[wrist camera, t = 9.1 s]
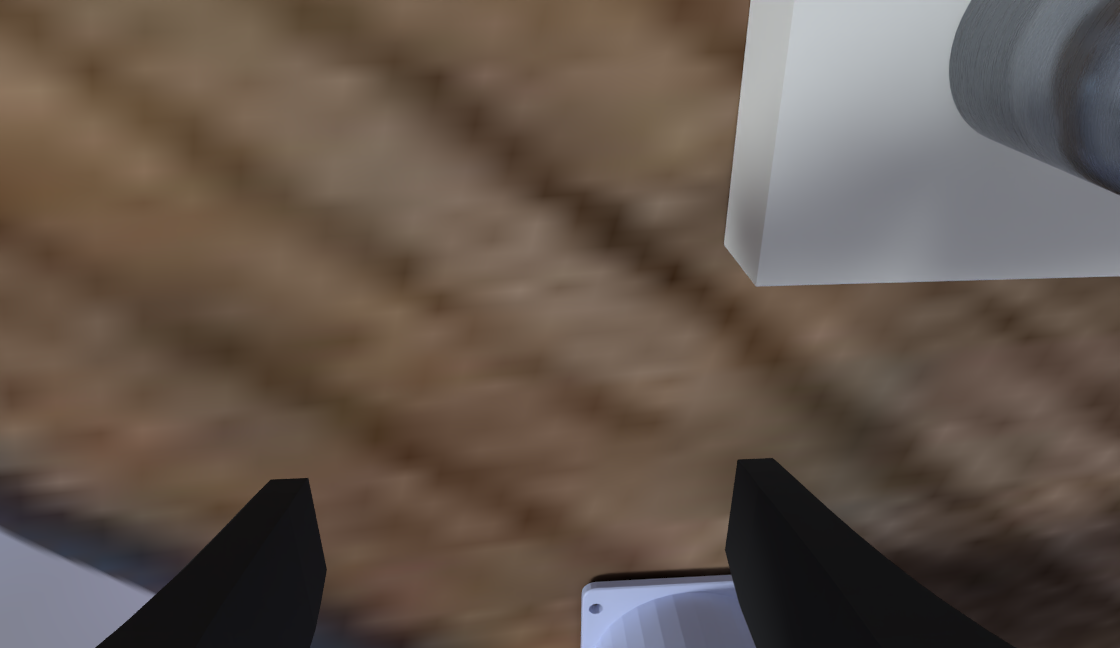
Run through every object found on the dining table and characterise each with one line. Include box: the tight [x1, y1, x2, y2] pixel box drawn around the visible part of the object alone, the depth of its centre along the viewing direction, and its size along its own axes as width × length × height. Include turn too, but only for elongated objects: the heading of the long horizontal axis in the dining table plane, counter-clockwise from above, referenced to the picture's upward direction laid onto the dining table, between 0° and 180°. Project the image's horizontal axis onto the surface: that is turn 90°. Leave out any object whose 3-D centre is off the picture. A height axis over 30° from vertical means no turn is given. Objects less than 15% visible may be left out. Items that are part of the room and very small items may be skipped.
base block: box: [724, 0, 1120, 286], centre depth 17 cm, size 12×12×3 cm
